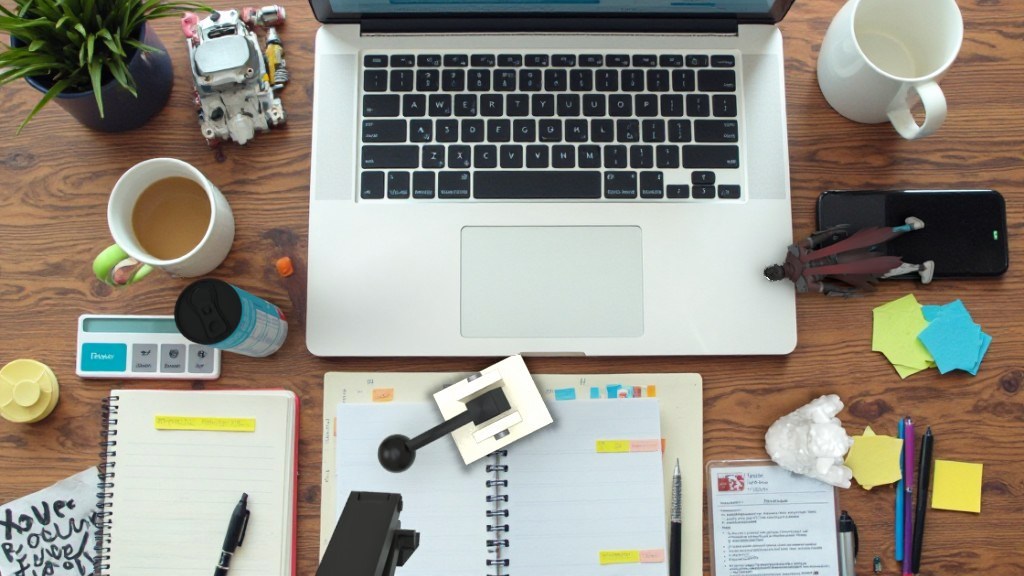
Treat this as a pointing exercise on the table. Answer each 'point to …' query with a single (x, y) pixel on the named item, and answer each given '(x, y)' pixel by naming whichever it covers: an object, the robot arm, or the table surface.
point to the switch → (440, 431)
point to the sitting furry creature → (812, 442)
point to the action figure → (846, 260)
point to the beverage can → (229, 319)
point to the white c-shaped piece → (505, 427)
